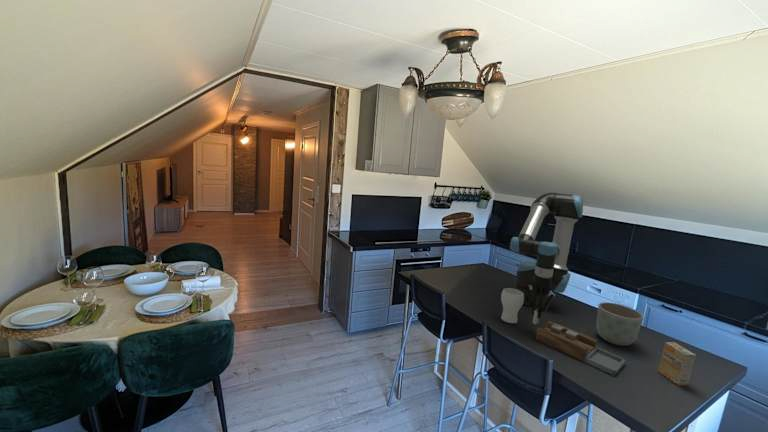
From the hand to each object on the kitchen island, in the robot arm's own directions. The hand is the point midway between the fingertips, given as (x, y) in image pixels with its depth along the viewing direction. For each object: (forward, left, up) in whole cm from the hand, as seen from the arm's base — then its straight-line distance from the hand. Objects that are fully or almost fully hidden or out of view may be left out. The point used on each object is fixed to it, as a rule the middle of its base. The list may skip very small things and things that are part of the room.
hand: (535, 323), depth 154 cm
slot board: (0, +14, -4) cm, 14 cm away
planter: (-26, +26, -5) cm, 37 cm away
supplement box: (-12, +49, -5) cm, 50 cm away
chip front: (0, +16, -1) cm, 16 cm away
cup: (-1, -13, -5) cm, 14 cm away
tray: (0, +29, -4) cm, 30 cm away
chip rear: (0, +10, -1) cm, 10 cm away
